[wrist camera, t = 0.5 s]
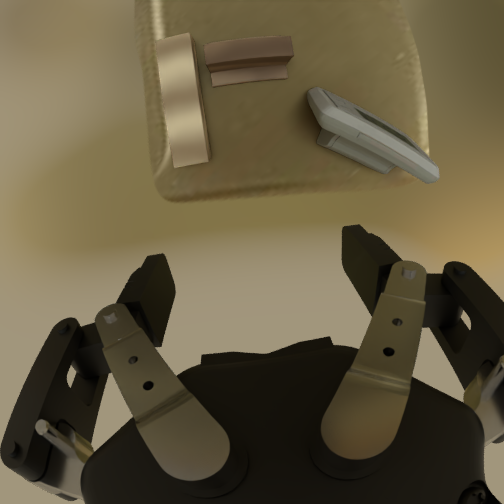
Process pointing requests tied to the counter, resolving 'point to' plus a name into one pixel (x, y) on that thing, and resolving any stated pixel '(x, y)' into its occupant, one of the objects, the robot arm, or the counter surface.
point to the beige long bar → (183, 100)
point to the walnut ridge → (248, 59)
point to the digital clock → (367, 137)
